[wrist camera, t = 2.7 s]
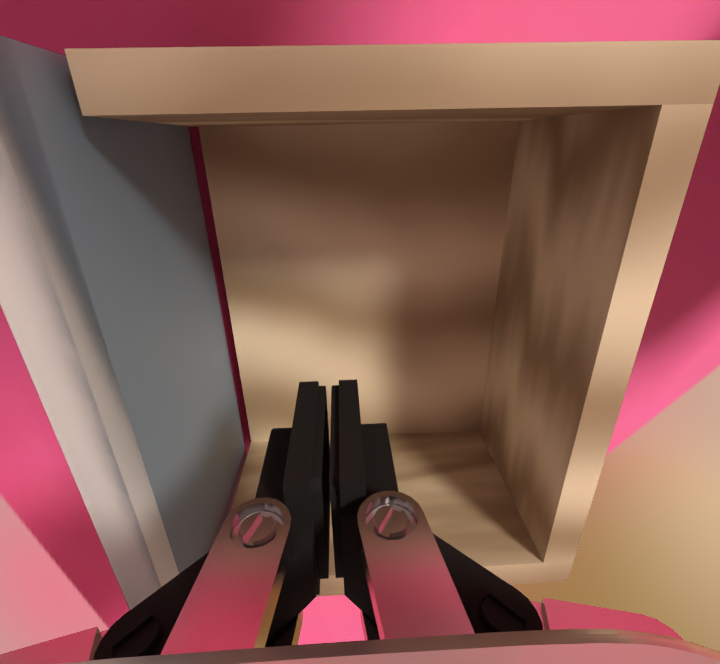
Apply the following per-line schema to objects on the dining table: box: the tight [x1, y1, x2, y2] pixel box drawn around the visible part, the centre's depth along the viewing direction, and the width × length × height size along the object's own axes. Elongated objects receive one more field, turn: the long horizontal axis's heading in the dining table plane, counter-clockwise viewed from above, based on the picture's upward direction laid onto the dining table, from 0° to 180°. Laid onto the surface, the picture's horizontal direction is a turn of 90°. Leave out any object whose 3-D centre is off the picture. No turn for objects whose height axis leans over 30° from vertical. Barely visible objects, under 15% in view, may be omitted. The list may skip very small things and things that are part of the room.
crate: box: [64, 40, 720, 596], centre depth 16 cm, size 18×14×9 cm
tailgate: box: [0, 35, 247, 610], centre depth 15 cm, size 18×1×11 cm, turn 1°
